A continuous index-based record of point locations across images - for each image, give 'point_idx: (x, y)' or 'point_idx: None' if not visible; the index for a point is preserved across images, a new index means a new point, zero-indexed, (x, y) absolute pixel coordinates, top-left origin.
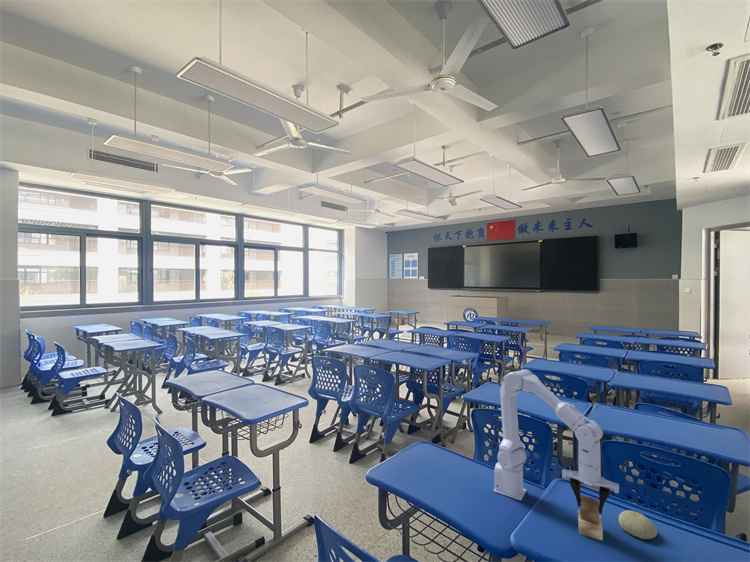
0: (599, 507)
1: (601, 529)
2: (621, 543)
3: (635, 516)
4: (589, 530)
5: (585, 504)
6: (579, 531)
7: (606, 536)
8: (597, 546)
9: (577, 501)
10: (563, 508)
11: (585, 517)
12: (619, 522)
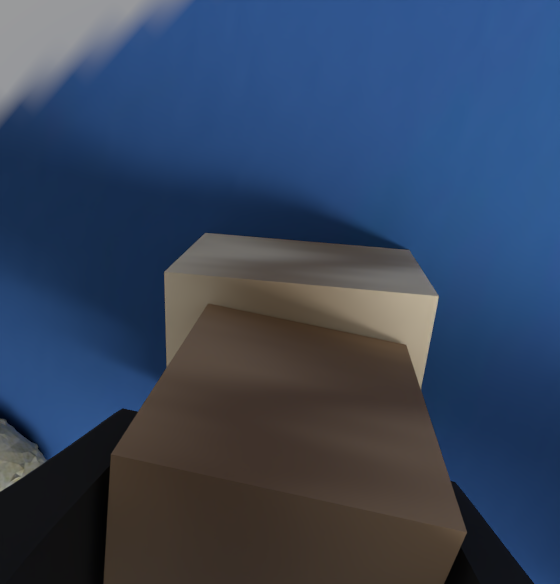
0: (99, 471)
1: (186, 261)
2: (61, 264)
3: None
4: (314, 257)
5: (362, 483)
6: (407, 254)
7: None
8: (263, 108)
9: (500, 543)
10: None
11: (351, 348)
12: None
